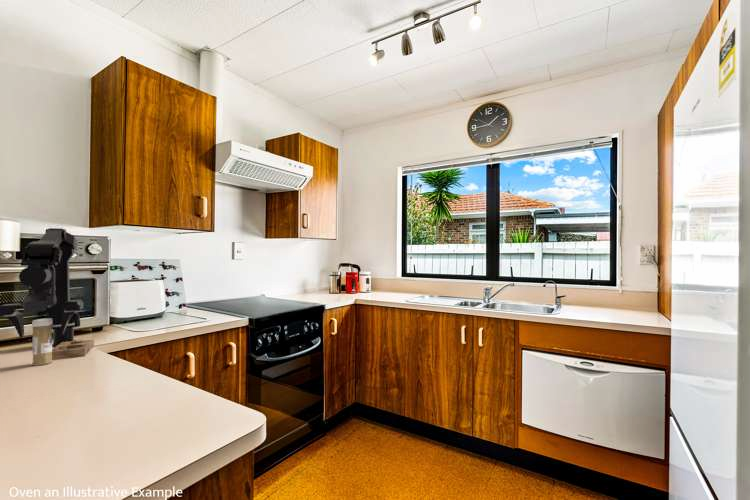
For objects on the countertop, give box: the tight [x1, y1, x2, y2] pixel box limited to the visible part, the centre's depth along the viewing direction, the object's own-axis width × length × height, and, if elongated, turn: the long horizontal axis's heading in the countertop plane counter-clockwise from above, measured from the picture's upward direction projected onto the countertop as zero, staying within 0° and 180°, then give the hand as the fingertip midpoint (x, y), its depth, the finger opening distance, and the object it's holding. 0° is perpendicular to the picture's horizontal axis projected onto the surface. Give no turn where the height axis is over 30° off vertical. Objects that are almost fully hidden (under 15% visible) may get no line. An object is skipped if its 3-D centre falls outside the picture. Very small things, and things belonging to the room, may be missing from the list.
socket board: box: [52, 338, 95, 361], centre depth 122 cm, size 9×16×2 cm, turn 29°
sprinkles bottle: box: [31, 317, 53, 366], centre depth 109 cm, size 5×5×14 cm
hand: (42, 336), depth 109 cm, fingers open, 9 cm apart
